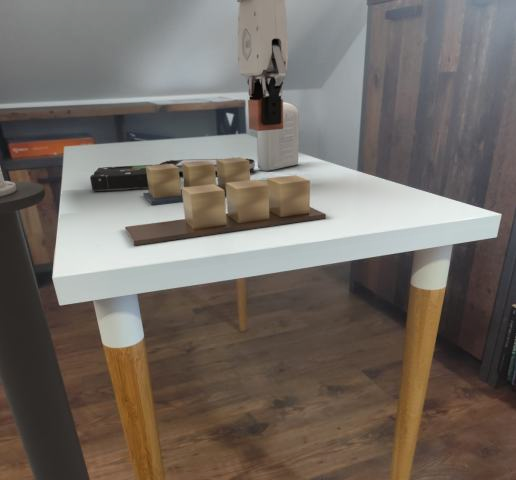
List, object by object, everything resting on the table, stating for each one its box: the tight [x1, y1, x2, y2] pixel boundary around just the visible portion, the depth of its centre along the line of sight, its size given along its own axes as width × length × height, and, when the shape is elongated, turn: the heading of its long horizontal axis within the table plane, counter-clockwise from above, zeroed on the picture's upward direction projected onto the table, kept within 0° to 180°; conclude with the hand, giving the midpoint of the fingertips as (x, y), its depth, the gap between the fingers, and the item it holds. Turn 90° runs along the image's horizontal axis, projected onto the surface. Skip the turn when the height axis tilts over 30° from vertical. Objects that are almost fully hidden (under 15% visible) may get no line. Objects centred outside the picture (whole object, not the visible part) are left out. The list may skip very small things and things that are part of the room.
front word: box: [124, 174, 327, 247], centre depth 65 cm, size 26×7×5 cm, turn 112°
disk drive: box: [89, 163, 175, 192], centre depth 92 cm, size 10×3×15 cm
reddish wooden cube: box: [247, 98, 284, 132], centre depth 81 cm, size 4×4×4 cm
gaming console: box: [159, 158, 256, 177], centre depth 100 cm, size 19×9×3 cm, turn 84°
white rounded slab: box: [256, 101, 300, 172], centre depth 101 cm, size 10×4×12 cm, turn 139°
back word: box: [142, 156, 267, 206], centre depth 83 cm, size 24×7×5 cm, turn 112°
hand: (265, 122), depth 81 cm, fingers closed on reddish wooden cube, 4 cm apart
